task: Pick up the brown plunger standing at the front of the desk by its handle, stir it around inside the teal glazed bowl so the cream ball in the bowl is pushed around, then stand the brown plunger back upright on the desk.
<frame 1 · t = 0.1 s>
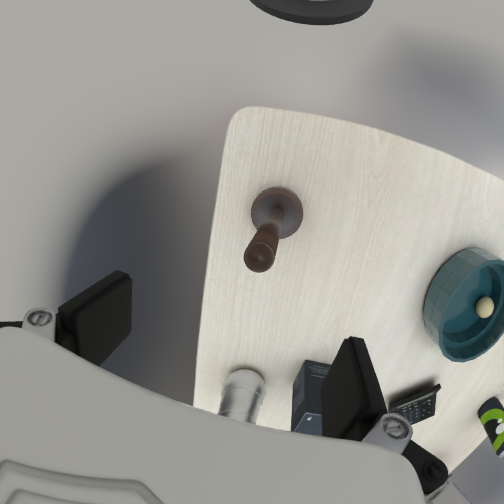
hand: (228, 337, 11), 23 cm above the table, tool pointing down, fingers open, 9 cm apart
plastic bottle: (246, 378, 40), on the table
beverage can: (486, 405, 36), on the table
box: (322, 376, 38), on the table
ball: (484, 307, 28), point 2 cm above the table, touching bowl
brown plunger: (278, 210, 32), on the table
bowl: (463, 296, 31), on the table
calculator: (411, 404, 37), on the table
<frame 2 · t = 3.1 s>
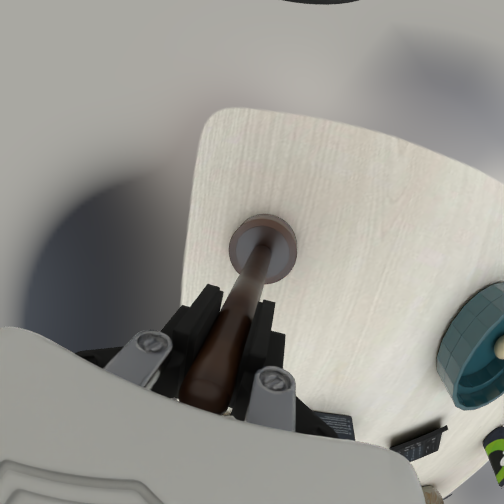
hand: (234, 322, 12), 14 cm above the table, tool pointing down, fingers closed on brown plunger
vase: (408, 496, 38), on the table
beverage can: (492, 433, 29), on the table
box: (317, 423, 31), on the table
brown plunger: (265, 244, 25), on the table, touching gripper
bowl: (481, 336, 24), on the table
calculator: (415, 442, 31), on the table
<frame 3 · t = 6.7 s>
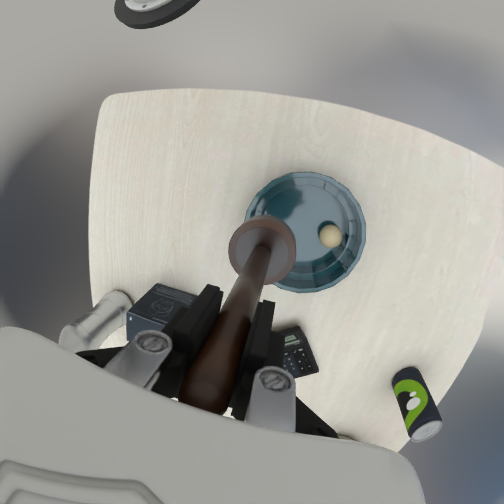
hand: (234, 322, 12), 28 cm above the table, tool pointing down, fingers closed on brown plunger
plastic bottle: (123, 302, 48), on the table
beverage can: (405, 376, 44), on the table
box: (176, 302, 46), on the table
ball: (330, 236, 36), point 2 cm above the table, touching bowl
brown plunger: (264, 245, 25), point 15 cm above the table, touching gripper
bowl: (303, 225, 39), on the table
calculator: (283, 352, 45), on the table
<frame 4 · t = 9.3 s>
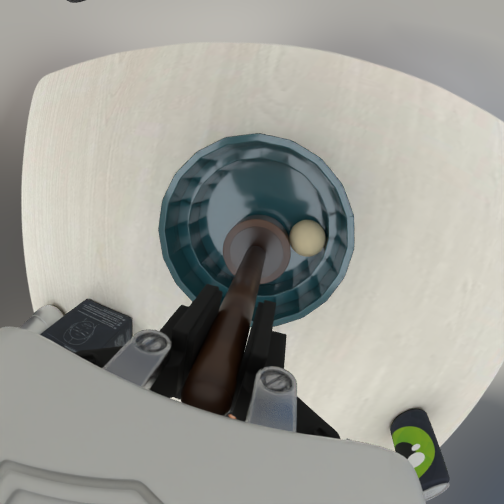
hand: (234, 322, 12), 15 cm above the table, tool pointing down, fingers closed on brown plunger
plastic bottle: (60, 318, 35), on the table
beverage can: (407, 418, 31), on the table
box: (110, 323, 33), on the table
ball: (307, 238, 24), point 2 cm above the table, tilted 20°, touching bowl, brown plunger
brown plunger: (258, 245, 25), point 2 cm above the table, touching ball, gripper
bowl: (261, 223, 26), on the table
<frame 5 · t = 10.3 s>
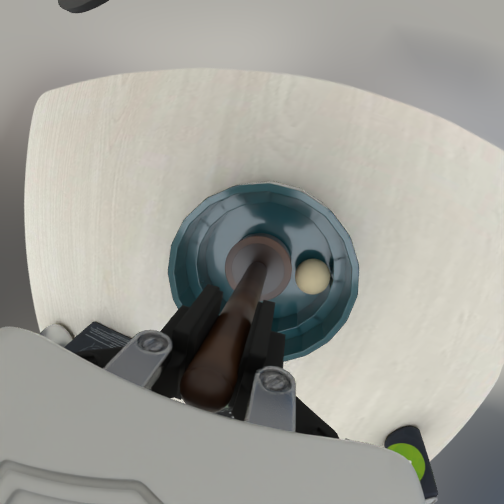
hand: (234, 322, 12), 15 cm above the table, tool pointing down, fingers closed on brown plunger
plastic bottle: (66, 336, 36), on the table
beverage can: (401, 434, 32), on the table
box: (117, 345, 34), on the table
ball: (312, 276, 24), point 2 cm above the table, tilted 19°, touching bowl
brown plunger: (260, 263, 25), point 2 cm above the table, tilted 7°, touching gripper
bowl: (267, 261, 27), on the table
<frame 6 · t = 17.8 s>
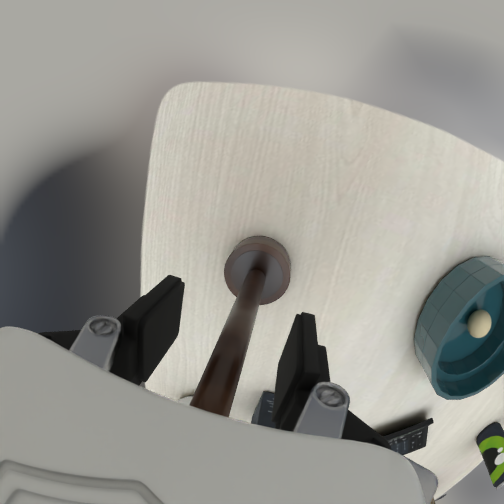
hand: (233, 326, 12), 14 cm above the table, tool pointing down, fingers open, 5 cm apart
beverage can: (486, 430, 29), on the table
box: (287, 408, 30), on the table
ball: (479, 323, 21), point 2 cm above the table, tilted 117°, touching bowl
brown plunger: (260, 265, 25), on the table
bowl: (466, 317, 24), on the table
calculator: (399, 436, 30), on the table
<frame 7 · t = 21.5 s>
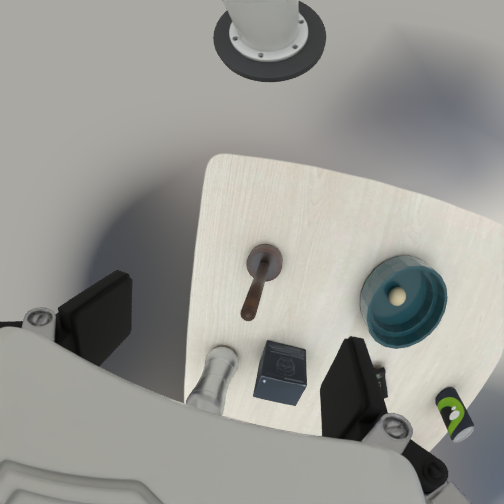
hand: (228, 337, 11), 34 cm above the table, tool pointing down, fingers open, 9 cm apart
plastic bottle: (224, 355, 53), on the table
beverage can: (444, 394, 49), on the table
box: (282, 354, 51), on the table
ball: (397, 296, 42), point 2 cm above the table, tilted 169°, touching bowl
brown plunger: (265, 260, 46), on the table
bowl: (398, 295, 44), on the table
calculator: (364, 385, 51), on the table
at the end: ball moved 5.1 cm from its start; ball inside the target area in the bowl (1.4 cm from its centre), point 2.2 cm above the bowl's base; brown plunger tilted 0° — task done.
